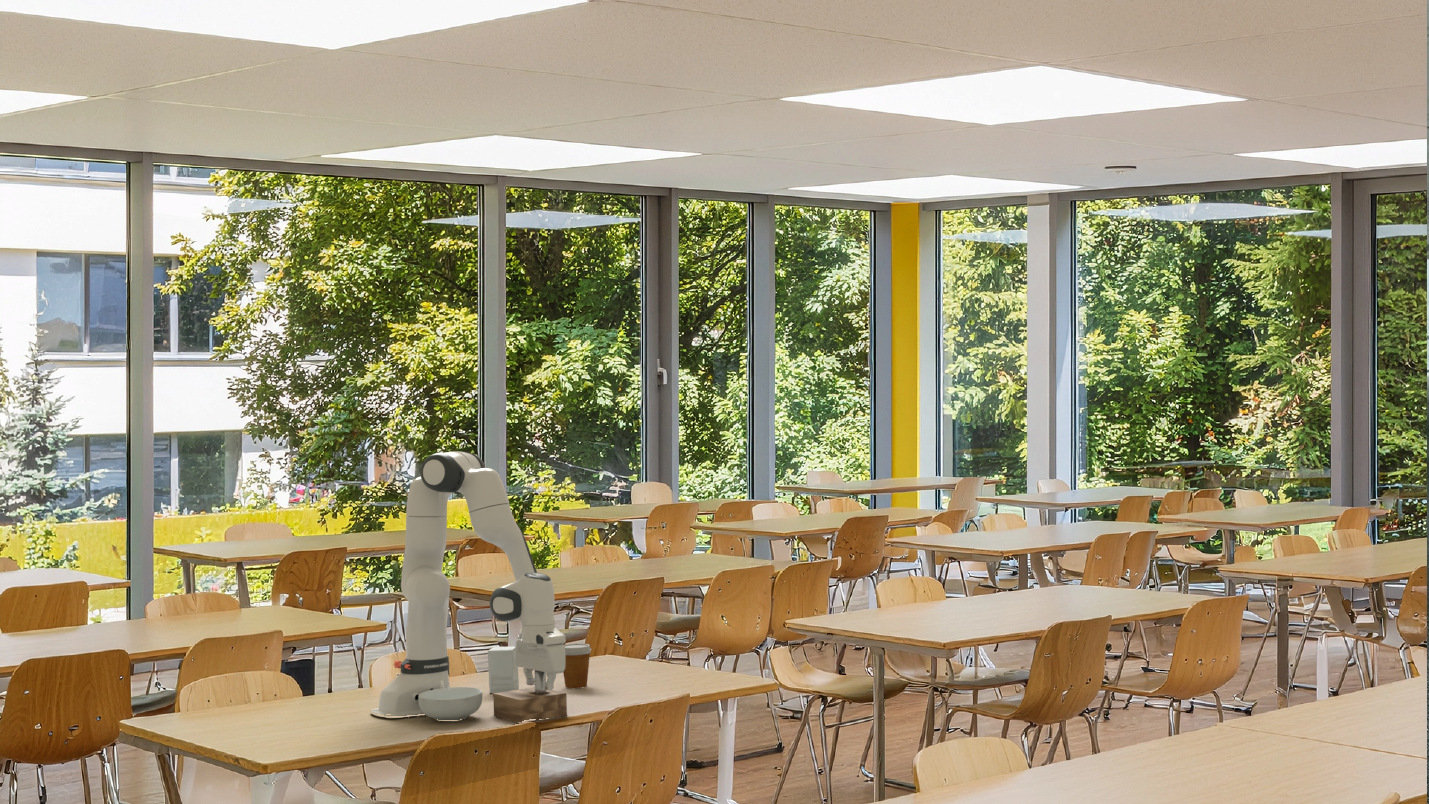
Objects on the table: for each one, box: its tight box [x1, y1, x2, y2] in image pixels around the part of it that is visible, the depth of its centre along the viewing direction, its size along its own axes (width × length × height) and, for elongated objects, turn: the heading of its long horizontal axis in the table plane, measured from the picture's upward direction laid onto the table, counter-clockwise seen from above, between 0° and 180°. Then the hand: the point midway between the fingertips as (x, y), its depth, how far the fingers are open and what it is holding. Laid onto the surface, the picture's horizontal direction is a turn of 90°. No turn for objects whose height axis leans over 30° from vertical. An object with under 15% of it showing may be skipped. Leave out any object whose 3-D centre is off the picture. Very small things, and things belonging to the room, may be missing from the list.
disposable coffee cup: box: [562, 643, 592, 689], centre depth 436 cm, size 10×10×12 cm
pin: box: [534, 670, 547, 695], centre depth 392 cm, size 3×3×10 cm
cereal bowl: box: [418, 686, 483, 720], centre depth 391 cm, size 17×17×7 cm
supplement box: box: [487, 645, 520, 694], centre depth 431 cm, size 7×7×13 cm
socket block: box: [492, 686, 568, 723], centre depth 392 cm, size 14×14×6 cm
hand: (539, 687), depth 392 cm, fingers open, 8 cm apart
